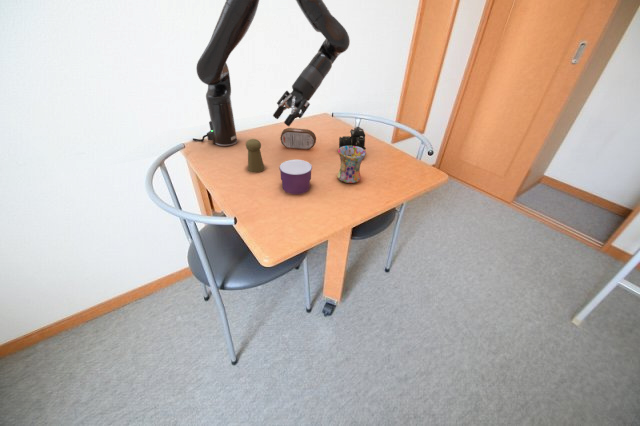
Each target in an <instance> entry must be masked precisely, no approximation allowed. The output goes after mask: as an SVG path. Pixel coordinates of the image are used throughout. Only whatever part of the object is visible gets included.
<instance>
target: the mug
mask: <svg viewBox="0 0 640 426" xmlns="http://www.w3.org/2000/svg"><path fill="white" fill-rule="evenodd" d="M337 152H338V155H339V159H340V168H339V171H338V173H337V175H336V176H337V179H338V180H339V181H340V182H342V183H347V184H355V183H358V182H359V181H361V179H362V175H361V170H360V169H361V164H362V161H363V159H364V158H365V156H366V154H367V151H366V149H365V150H364V149H362V148H360V147H357V146H343V147H341V148H339V147H338V149H337Z"/></svg>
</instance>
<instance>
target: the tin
mask: <svg viewBox="0 0 640 426" xmlns="http://www.w3.org/2000/svg"><path fill="white" fill-rule="evenodd" d="M279 140H280V142H281V145H282V146H283V147H285V148H287V149H290V150H291V149H293V150H304V151H305V150H306V151H308V150H311V149H313V148H314V147H315V145H316V142H317V136H316V134H315V132H313V130H310V129H308V128H307V129H306V128H295V127H293V128H292V127H287V128H286V127H285V128H284V129H283V130H282V132H281V133H280V138H279Z"/></svg>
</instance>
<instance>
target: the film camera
mask: <svg viewBox="0 0 640 426" xmlns="http://www.w3.org/2000/svg"><path fill="white" fill-rule="evenodd" d="M349 132H350V136H349V135H346V136H345V135H343V136H339V137H338V138H339V139H338V149H339V148H341V147H343V146H357V147H360V148H362V149H364V150H365V151H366V149H367V148H366V147H365V146H366V145H365V144H366V133H365V130H364V128H362V127H360V126H356V127H354V128H353V129H350V131H349Z"/></svg>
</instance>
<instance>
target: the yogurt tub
mask: <svg viewBox="0 0 640 426" xmlns="http://www.w3.org/2000/svg"><path fill="white" fill-rule="evenodd" d="M278 167H279V171H280V180H281V184H282V185H281V187H282V190H283V191H284V192H285V193H287V194H290V195H300V194H301V195H302V194H305V193H307V192H309V190H310V188H311V179H312V170H313V165H312V164H311V163H310V162H308V161H306V160H303V159H289V160H285V161H283V162H281V164H279V166H278Z"/></svg>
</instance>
